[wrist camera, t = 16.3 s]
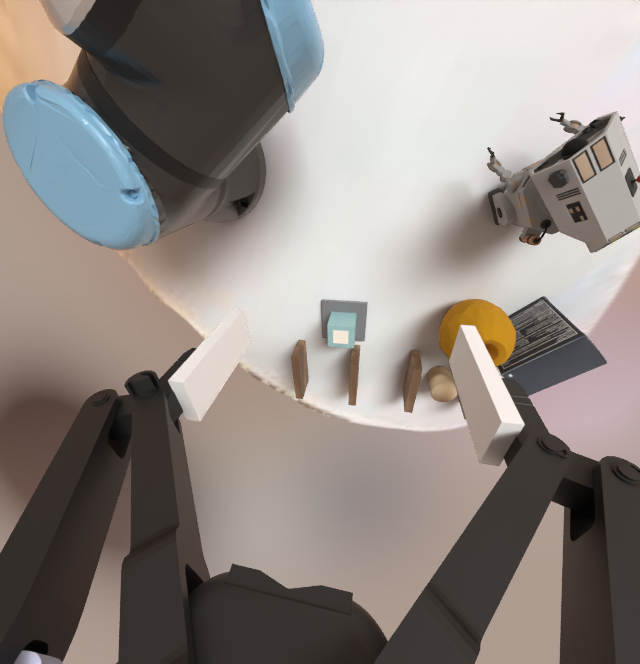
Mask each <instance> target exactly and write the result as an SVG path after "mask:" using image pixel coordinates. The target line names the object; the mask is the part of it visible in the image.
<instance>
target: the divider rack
mask: <svg viewBox="0 0 640 664" xmlns="http://www.w3.org/2000/svg"><path fill="white" fill-rule="evenodd" d="M359 356H360V345H354V349H353V348H352V354H351V361H350V380H349V405H356V396H357V386H358V371H359ZM291 359H292V368H293V376H294V385H295V393H296V398H299V399H303V396H304V393H305V390H306V387H307V383H308V368H307V355H306V341H304V340H298V343H297V345H296V348H295V350H294V352H293V355H292V357H291ZM421 374H422V366H421V360H420V354H419V351H418V350H411V353H410V358H409V363H408V368H407V373H406V378H405V383H404V388H403V399H404V411H405V412H411V413H412V411H413V407H414V403H415V398H416V394H417V390H418V386H419V382H420V378H421ZM458 398H459V402H460V405H461V409H462V412H463V415H464V419H466V417H465V414H464V410H463V407H462V404H461V401H460V397H459V396H458Z"/></svg>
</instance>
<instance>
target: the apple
mask: <svg viewBox="0 0 640 664" xmlns="http://www.w3.org/2000/svg"><path fill="white" fill-rule="evenodd" d="M460 325H469V326H475V327H476V329H477V331H478V333H479V335H480V337H481V339H482V341H483V343H484V345H485V347H486V349H487V351H488V353H489V355H490V357H491V359H492V361H493V363H494V365H495V367H497V366H499V365H501V364H503V363H505V362H506V361H507V360H508V358H509V357H510V356H511V354H512V352H513V350H514V347H515V342H516V330H515V328H514V326H513V324H512V322H511V321H510V319H509V317H508V316H507V315H506V313H505V312H504V311H503V310H502V309H501V308H499V307H497V306H495V305H494V304H492V303H490V302H487V301H485V300H481V299H469V300H464V301H461V302H459V303H457V304H455V305H454V306H452V307H451V308H450V309H449V311H448V312H447V313H446V314H445V316H444V318H443V320H442V323H441V326H440V328H439V344H440V348H441V349H442V350H443V352H444V353H445V354H446V355H447V356H448V357H449V358H450V357H451V354H452V350H453V347H454V344H455V341H456V337H457V334H458V331H459V328H460Z"/></svg>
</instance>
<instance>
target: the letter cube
mask: <svg viewBox="0 0 640 664" xmlns="http://www.w3.org/2000/svg"><path fill="white" fill-rule="evenodd" d="M327 330H328V347H341V348H353V349H354V342H355V335H356V313H347V312H331V315H330V318H329V321H328V325H327Z"/></svg>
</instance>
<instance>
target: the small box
mask: <svg viewBox="0 0 640 664" xmlns="http://www.w3.org/2000/svg"><path fill="white" fill-rule="evenodd" d="M509 319H510V321H511V322H512V324H513V326H514V328H515V330H516V342H515V347H514V350H513V352H512V354H511V356H510V357H509V358H508V360H507V361H506V362H505V363H503V364H501V365H499V366H497V367H498V369H499V371H500V373H501V375H502V376H503V377H504V378H507V379H514V380H515V381H516V382H517V383H519V384H520V385H521V386H522V387H523V388H524V390H525V392H526V393H527V395H528V396H529V395H531V394H534V393H536V392H539V391H541V390H543V389H546V388H548V387H551V386H553V385H556V384H558V383H560V382H563V381H565V380H568V379H570V378H572V377H575V376H577V375H580V374H582V373H585V372H587V371H590V370H592V369H594V368H597V367H599V366H601V365H604V364H606V363H607V361H606V360H605V358H604V357H603V355H602V354H601V353H600V352H599V350H598V349H597V348H596V347H595V345H594V344H593V343H592V342H591V340H590V339H589V338H588V337H587V336H586V335H585V334H584V333H583V332H581V331H580V330H579V329H578V328H577V327H576V326H574V324H573V323H571V322H570V321H569V320H568V319H567V318H566V317H565V316H564V315H563V314H562V313H561V312H560V311H559V310H558V309H557V308H556V307H555V306H554V305H552V304H551V303H550V302H549V300H548V299H547V298H546V297H542V298H540V299H538V300H536V301H534V302H533V303H531V304H529V305H528V306H526V307H524V308H522V309H521V310H519V311H517V312H515V313H514V314H512V315H510V316H509Z"/></svg>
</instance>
